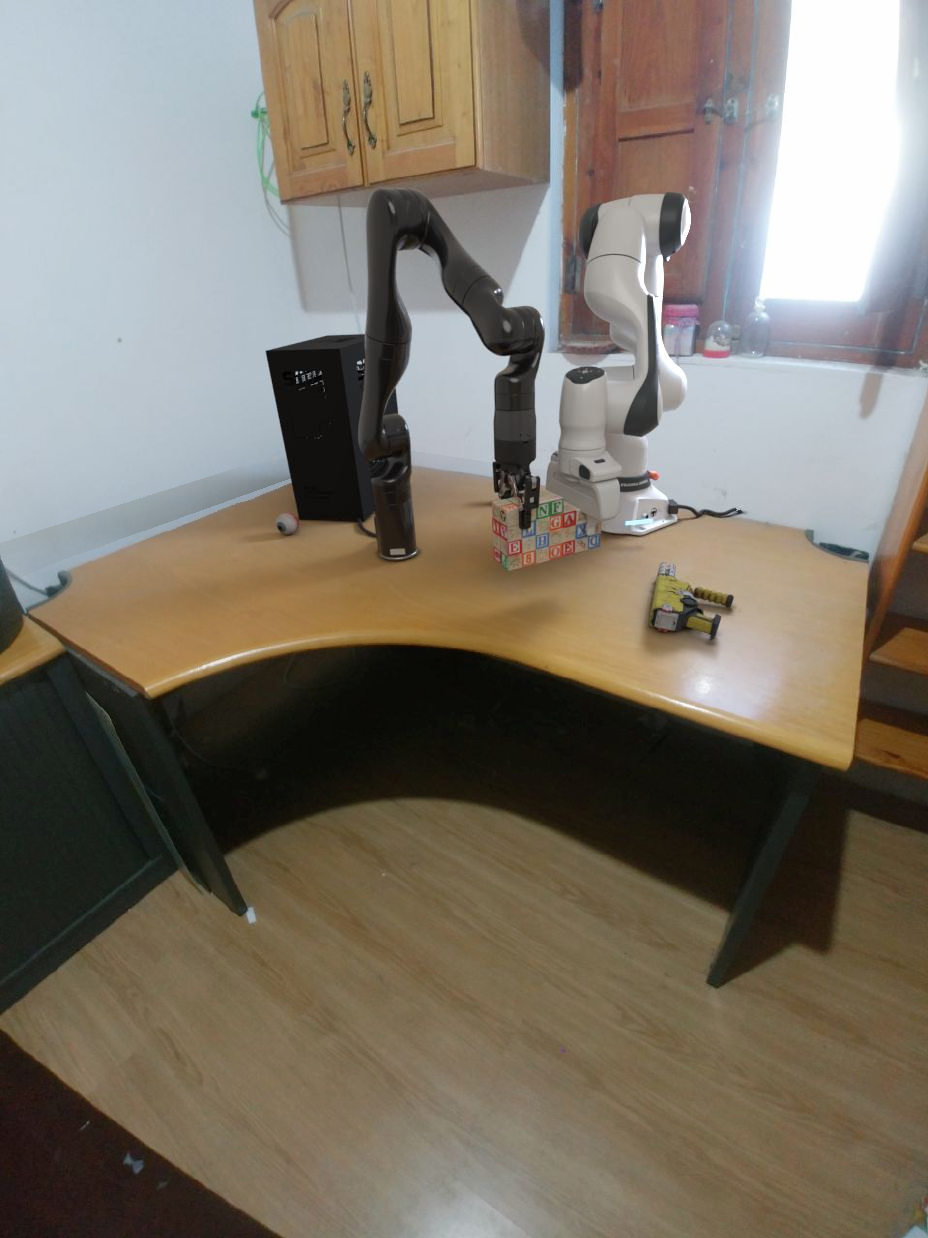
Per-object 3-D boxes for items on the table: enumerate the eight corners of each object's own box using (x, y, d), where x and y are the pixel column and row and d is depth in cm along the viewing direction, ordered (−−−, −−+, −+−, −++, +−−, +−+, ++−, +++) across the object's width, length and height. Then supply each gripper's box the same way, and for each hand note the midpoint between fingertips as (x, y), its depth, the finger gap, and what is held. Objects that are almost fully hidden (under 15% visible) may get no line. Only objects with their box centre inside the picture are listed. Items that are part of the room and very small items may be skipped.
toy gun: (734, 572, 125) (660, 559, 129) (740, 625, 105) (652, 607, 109) (728, 592, 127) (655, 579, 131) (733, 648, 107) (647, 630, 111)
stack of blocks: (582, 537, 128) (585, 480, 121) (600, 547, 123) (604, 488, 116) (493, 559, 120) (491, 500, 114) (507, 571, 115) (506, 510, 109)
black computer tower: (364, 521, 170) (339, 348, 148) (298, 518, 175) (265, 350, 152) (405, 480, 202) (390, 332, 180) (349, 479, 207) (327, 335, 184)
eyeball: (273, 537, 164) (268, 516, 161) (287, 528, 169) (282, 508, 166) (291, 539, 161) (286, 518, 158) (305, 530, 166) (301, 510, 163)
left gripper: (478, 429, 111) (481, 515, 119) (516, 445, 100) (516, 539, 108) (513, 423, 114) (514, 507, 122) (554, 438, 102) (552, 530, 110)
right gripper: (538, 450, 122) (538, 515, 129) (598, 475, 106) (594, 548, 113) (565, 446, 124) (563, 509, 131) (628, 469, 108) (621, 541, 115)
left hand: (515, 522), depth 115 cm, fingers open, 6 cm apart
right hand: (578, 528), depth 122 cm, fingers closed on stack of blocks, 6 cm apart
